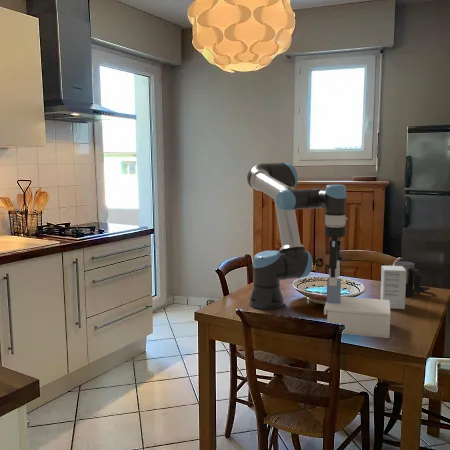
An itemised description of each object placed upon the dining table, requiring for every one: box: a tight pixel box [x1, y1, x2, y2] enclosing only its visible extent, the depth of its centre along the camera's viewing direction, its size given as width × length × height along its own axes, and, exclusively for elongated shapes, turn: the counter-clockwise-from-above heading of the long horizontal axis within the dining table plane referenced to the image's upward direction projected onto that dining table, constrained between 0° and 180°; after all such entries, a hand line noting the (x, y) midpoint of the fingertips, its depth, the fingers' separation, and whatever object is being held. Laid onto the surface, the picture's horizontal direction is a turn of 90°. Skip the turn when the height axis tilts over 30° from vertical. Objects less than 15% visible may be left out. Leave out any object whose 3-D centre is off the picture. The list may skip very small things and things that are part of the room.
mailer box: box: [326, 311, 391, 339], centre depth 179 cm, size 22×16×8 cm
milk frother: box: [393, 261, 431, 297], centre depth 221 cm, size 14×16×15 cm
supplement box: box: [379, 265, 406, 310], centre depth 203 cm, size 10×9×17 cm
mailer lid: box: [323, 277, 391, 317], centre depth 178 cm, size 23×16×12 cm
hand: (334, 281), depth 180 cm, fingers open, 13 cm apart
